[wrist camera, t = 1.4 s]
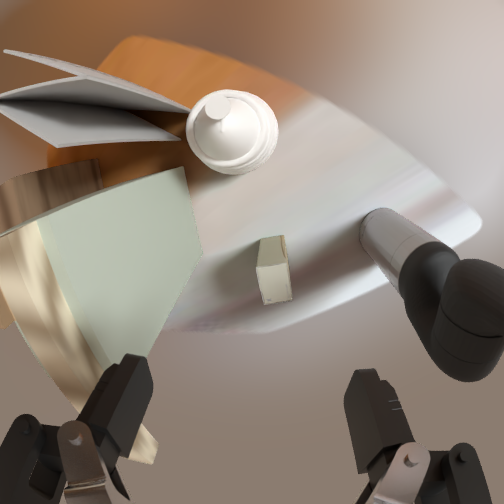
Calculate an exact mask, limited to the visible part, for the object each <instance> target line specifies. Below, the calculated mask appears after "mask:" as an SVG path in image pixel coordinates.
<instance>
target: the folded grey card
mask: <svg viewBox="0 0 504 504" xmlns="http://www.w3.org/2000/svg"><path fill="white" fill-rule="evenodd" d="M3 52H5V53H9V54H12V55H16V56H20V57H23V58H27V59H31V60H34V61H37V62H40V63H43V64H46V65H49V66H52V67H55V68H58V69H61V70H64V71H67V72H69V73H72V74H75V75H78V76H76V77H71V78H64V79H59V80H53V81H48V82H44V83H40V84H35V85H31V86H27V87H23V88H19V89H16V90H12V91H9V92H6V93H2V94H0V112H1V113H2V114H4V115H5V116H7V117H8V118H10V119H12V120H13V121H15V122H16V123H18V124H19V125H21V126H23V127H24V128H26V129H27V130H29V131H31V132H32V133H34V134H35V135H37V136H39V137H40V138H42V139H43V140H45V141H47V142H48V143H50V144H52V145H53V146H55V147H56V148H61V147H69V146H78V145H87V144H99V143H113V142H133V141H181V140H182V139H180V138H178V137H176V136H175V135H173V134H171V133H169V132H167V131H165V130H163V129H161V128H159V127H157V126H155V125H153V124H151V123H149V122H147V121H145V120H143V119H141V118H139V117H137V116H135V115H133V114H131V113H129V112H127V111H125V110H148V111H165V112H178V113H188V114H190V112H191V109H189V108H187V107H185V106H183V105H181V104H179V103H177V102H175V101H172V100H170V99H168V98H166V97H164V96H162V95H160V94H157V93H155V92H153V91H151V90H148V89H146V88H144V87H141V86H139V85H137V84H134V83H132V82H129V81H126V80H123V79H121V78H118V77H115V76H112V75H109V74H106V73H103V72H100V71H96V70H93V69H89V68H86V67H83V66H79V65H76V64H72V63H69V62H65V61H61V60H57V59H53V58H48V57H44V56H39V55H34V54H29V53H23V52H18V51H12V50H4V51H3Z"/></svg>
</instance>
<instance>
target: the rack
mask: <svg viewBox="0 0 504 504" xmlns="http://www.w3.org/2000/svg"><path fill="white" fill-rule="evenodd" d="M34 221H37V225H38V228H39V231H40V235H41V238H42V241H43V244H44V247H45V250H46V253H47V256H48V258H49V261H50V264H51V266H52V269H53V272H54V274H55V277H56V279H57V282H58V284H59V286H60V289H61V291H62V293H63V296H64V298H65V300H66V302H67V304H68V306H69V309H70V311H71V313H72V315H73V317H74V319H75V321H76V323H77V325H78V327H79V329H80V331H81V332H82V334H83V336H84V338H85V340H86V342H87V343H88V345H89V347H90V349H91V350H92V352H93V354H94V356H95V357H96V359H97V361H98V362H99V364H100V366H101V367H102V369H103V370H104V371H105V370H106V369H107V368H109V367H110V366H111V365H112V364H114V363H116V364H120V362H121V360H122V358H123V357H124V355H125V354H126V353H129V354H134V355H140V356H144V357H146V358H147V356H148V354H149V352H150V350H151V348H152V346H153V344H154V342H155V341H156V339H157V337H158V335H159V333H160V331H161V329H162V327H163V325H164V323H165V322H166V320H167V318H168V316H169V314H170V312H171V310H172V308H173V307H174V305H175V303H176V301H177V299H178V297H179V296H180V294H181V292H182V290H183V288H184V286H185V285H186V283H187V281H188V279H189V277H190V276H191V274H192V272H193V270H194V268H195V267H196V265H197V263H198V261H199V260H200V258H201V256H202V254H203V251H202V246H201V242H200V238H199V234H198V230H197V226H196V221H195V217H194V213H193V208H192V204H191V199H190V195H189V190H188V185H187V181H186V176H185V171H184V166H182V167H178V168H174V169H170V170H166V171H162V172H158V173H154V174H150V175H146V176H143V177H139V178H136V179H132V180H129V181H125V182H122V183H119V184H116V185H113V186H110V187H107V188H105V189H102V190H99V191H96V192H94V193H91V194H88V195H85V196H83V197H80V198H78V199H75V200H73V201H70V202H68V203H65V204H63V205H60V206H58V207H56V208H53V209H51V210H49V211H46V212H44V213H42V214H40V215H37V216H35V217H33V218H31V219H29V220H27V221H24V222H22V223H20V224H18V225H16V226H14V227H12V228H10V229H8V230H6V231H4V232H2V233H0V236H2V235H4V234H6V233H8V232H10V231H12V230H14V229H16V228H19V227H21V226H24V225H26V224H28V223H31V222H34ZM13 321H15V323H16V325H17V327H18V328H19V331H20V332H21V334H22V336H23V338H24V339H25V341H26V343H27V344H28V346H29V348H30V349H31V351H32V353H33V354H34V356H35V357H36V359H37V361H38V362H39V364H40V365H41V367H42V368H43V370H44V371H45V372H46V374H47V375H48V377H50V378H51V376H50V375H49V373H48V372H47V371H46V369H45V368H44V366H43V365H42V363H41V362H40V360H39V358H38V357H37V355H36V354H35V352H34V351H33V349H32V347H31V346H30V344H29V342H28V341H27V339H26V337H25V335H24V334H23V332H22V330H21V328H20V326H19V324H18V323H17V321H16V319H15V317H14V315H13V313H12V311H11V309H10V307H9V305H8V302H7V300H6V298H5V296H4V294H3V291H2V289H1V287H0V329H6V328H7V327H8V326H9V325H10V324H11V323H12V322H13Z"/></svg>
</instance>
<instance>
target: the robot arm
mask: <svg viewBox="0 0 504 504" xmlns="http://www.w3.org/2000/svg"><path fill="white" fill-rule="evenodd" d="M359 236H360V242H361V245H362V247H363V248H364V249H365V250H366V252H367V253H368V254H369V255H370V257H371V258H372V259H373V261H374V262H375V263H376V264H377V266H378V267H379V268H380V269H381V271H382V272H383V273H384V274H385V276H386V277H387V278H388V280H389V281H390V282H391V284H392V285H393V286H394V287H395V288H396V290H397V291H398V293H399V294H400V295H401V297H402V298H403V299H404V303H405V309H406V313H407V316H408V318H409V320H410V321H411V323H412V325H413V327H414V329H415V330H416V332H417V334H418V336H419V338H420V340H421V342H422V343H423V345H424V347H425V349H426V351H427V352H428V354H429V356H430V357H431V359H432V360H433V361H434V363H435V364H436V365H437V366H438V367H439V368H440V369H441V370H442V371H443V372H444V373H445V374H447V375H448V376H450V377H452V378H454V379H456V380H458V381H462V382H475V381H479V380H481V379H483V378H485V377H486V376H487V375H488V374H489V373H491V371H492V370H493V369H494V367H495V366H496V364H497V362H498V361H499V359H500V357H501V355H502V353H503V351H504V269H502V268H501V267H499V266H497V265H494V264H492V263H489V262H486V261H483V260H479V259H464V260H460V259H459V257H458V255H457V254H456V253H455V252H454V251H453V250H452V249H451V248H450V247H448V246H447V245H445V244H444V243H442V242H441V241H440V240H438V239H437V238H435V237H434V236H432V235H431V234H429V233H428V232H426V231H425V230H423V229H422V228H420V227H419V226H417V225H416V224H414V223H413V222H411V221H409V220H408V219H406V218H405V217H403V216H402V215H400V214H398V213H397V212H395V211H393V210H391V209H388V208H380V209H376V210H374V211H372V212H371V213H369V214H368V215H367V216H366V218H365V219H364V221H363V222H362V224H361V227H360V232H359ZM152 393H153V381H152V377H151V373H150V370H149V366H148V363H147V359H146V357H144V356H140V355H134V354H129V353H126V354H125V355H124V357H123V358H122V360H121V362H120V364H116V363H114V364H112V365H111V366H110V367H109V368H107V369H106V370H105V371H104V372H103V374H102V376H101V378H100V379H99V382H98V383H97V384H96V386H95V389H94V390H93V391H92V393H91V395H90V396H89V398H88V400H87V402H86V404H85V405H84V407H83V409H82V411H81V413H80V414H79V416H78V418H77V419H76V420H73V421H68V422H66V423H64V424H63V425H62V426H51V425H44V424H40V423H39V421H38V420H37V419H36V418H35V417H34V416H32V415H30V414H23V415H20V416H18V417H17V418H16V419H15V420H14V422H13V424H12V425H11V427H10V429H9V431H8V433H7V435H6V437H5V438H4V441H3V443H2V445H1V446H0V504H59V502H60V499H61V496H62V493H63V490H64V496H65V499H66V502H67V504H135V502H134V500H133V498H132V496H131V494H130V492H129V490H128V488H127V486H126V484H125V482H124V479H123V477H122V475H121V472H120V470H119V468H118V465H117V463H116V462H117V459H118V457H119V456H121V457H125V458H129V455H130V452H131V449H132V447H133V444H134V441H135V438H136V436H137V433H138V430H139V428H140V425H141V422H142V420H143V417H144V415H145V412H146V409H147V407H148V404H149V402H150V399H151V397H152ZM344 409H345V413H346V418H347V422H348V427H349V431H350V435H351V440H352V445H353V450H354V454H355V459H356V465H357V469H358V474H362V473H368V475H369V479H368V480H367V482H366V483H365V485H364V487H363V488H362V490H361V492H360V493H359V495H358V496H357V498H356V499H355V501H354V502H353V504H413V503H414V502H415V504H492V501H491V497H490V493H489V490H488V486H487V483H486V480H485V476H484V473H483V471H482V467H481V465H480V461H479V459H478V456H477V453H476V451H475V449H474V448H473V447H472V446H471V445H470V444H467V443H459V444H456V445H455V446H454V447H453V448H452V449H451V450H450V451H429V450H427V448H426V447H425V446H423V445H422V444H420V443H416V442H415V440H414V438H413V435H412V433H411V430H410V427H409V425H408V422H407V419H406V417H405V414H404V412H403V410H402V407H401V404H400V402H399V401H398V397H397V394H396V392H395V390H394V388H393V387H392V386H391V385H390V384H389V383H388V382H387V381H386V380H381V381H380V378H379V376H378V374H377V371H376V370H375V369H374V368H372V369H359V370H355V371H354V373H353V376H352V378H351V381H350V383H349V386H348V388H347V390H346V393H345V396H344ZM36 461H37V462H36ZM34 466H35V467H34ZM33 468H34V469H33ZM32 471H33V472H32ZM31 473H32V474H31ZM30 476H31V477H30ZM29 478H30V479H29ZM66 481H67V482H68V487H66V488H65V489H64V487H65V484H66Z"/></svg>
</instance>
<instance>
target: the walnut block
mask: <svg viewBox="0 0 504 504" xmlns="http://www.w3.org/2000/svg"><path fill="white" fill-rule="evenodd" d="M102 189H104V187H103V182H102V178H101V173H100V169H99V164H98V159H91V160H85V161H80V162H75V163H70V164H65V165H60V166H56V167H51V168H47V169H43V170H39V171H35V172H31V173H28V174H24V175H20V176H16V177H13V178H11V179H9V180H8V181H6V182H5V183H3V184H2V185H1V186H0V233H2V232H4V231H6V230H8V229H10V228H12V227H14V226H16V225H18V224H20V223H22V222H24V221H27V220H29V219H31V218H33V217H35V216H37V215H40V214H42V213H44V212H46V211H49V210H51V209H53V208H56V207H58V206H60V205H63V204H65V203H68V202H70V201H73V200H75V199H78V198H80V197H83V196H85V195H88V194H91V193H94V192H96V191H99V190H102Z"/></svg>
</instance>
